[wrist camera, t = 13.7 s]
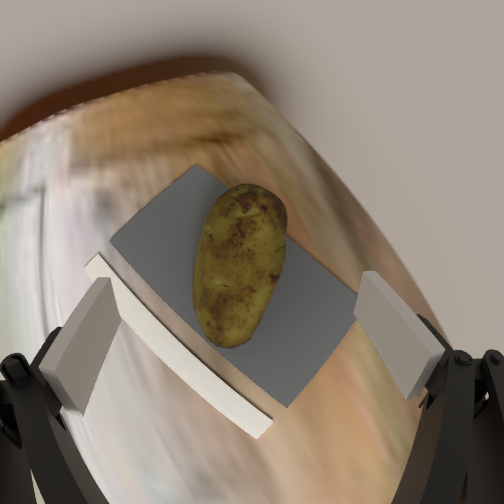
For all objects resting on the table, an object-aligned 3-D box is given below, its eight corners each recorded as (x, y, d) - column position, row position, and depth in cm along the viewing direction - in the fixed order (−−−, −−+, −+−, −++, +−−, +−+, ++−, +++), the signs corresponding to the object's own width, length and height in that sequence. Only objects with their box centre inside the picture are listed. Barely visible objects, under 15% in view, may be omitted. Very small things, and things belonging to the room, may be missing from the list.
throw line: (273, 420, 23) (273, 421, 22) (256, 438, 22) (256, 439, 22) (99, 254, 27) (98, 253, 26) (84, 270, 26) (83, 269, 25)
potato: (160, 311, 25) (134, 293, 17) (230, 205, 29) (233, 157, 22) (237, 358, 24) (243, 361, 17) (301, 244, 29) (326, 205, 21)
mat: (363, 304, 27) (366, 303, 27) (285, 406, 23) (286, 407, 23) (196, 166, 31) (196, 163, 31) (110, 242, 27) (109, 240, 27)
